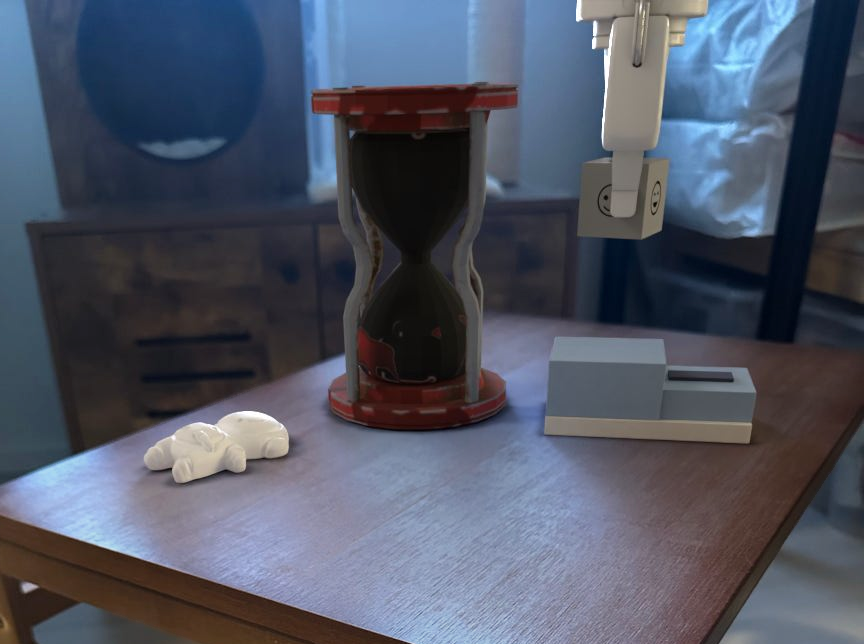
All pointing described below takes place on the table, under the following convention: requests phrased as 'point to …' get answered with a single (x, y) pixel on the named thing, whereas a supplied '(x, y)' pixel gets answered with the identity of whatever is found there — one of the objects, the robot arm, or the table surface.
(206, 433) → the astronaut figurine
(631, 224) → the beige smiley face cube
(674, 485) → the table surface
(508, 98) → the hourglass
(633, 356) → the stepped block with slot
